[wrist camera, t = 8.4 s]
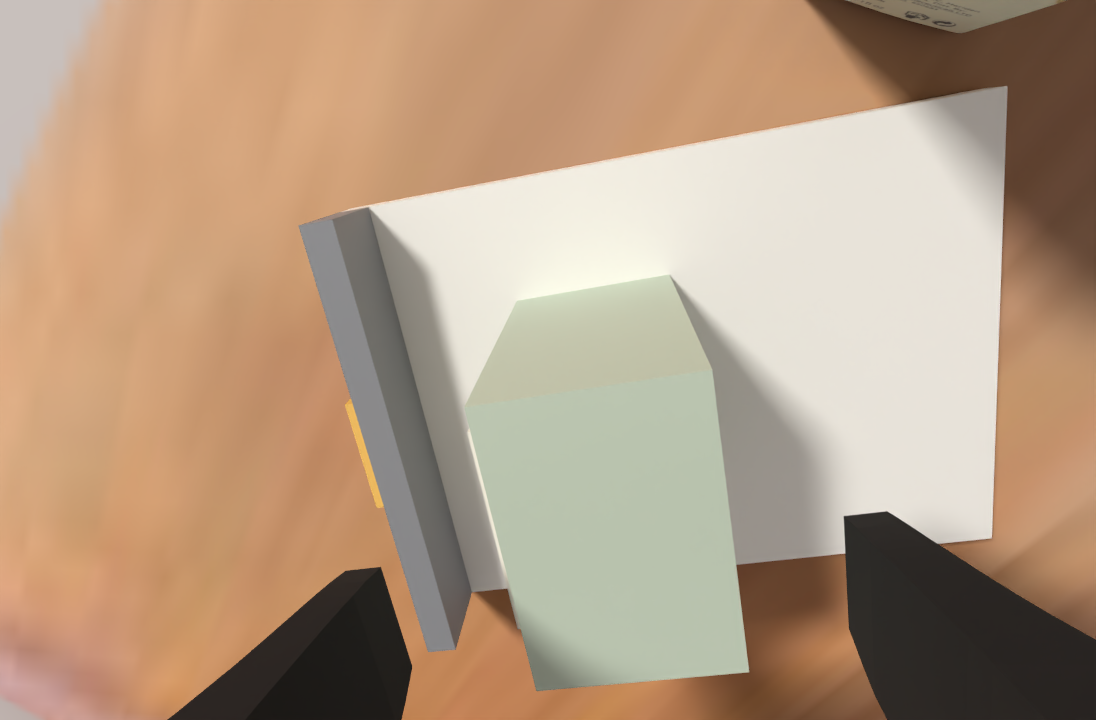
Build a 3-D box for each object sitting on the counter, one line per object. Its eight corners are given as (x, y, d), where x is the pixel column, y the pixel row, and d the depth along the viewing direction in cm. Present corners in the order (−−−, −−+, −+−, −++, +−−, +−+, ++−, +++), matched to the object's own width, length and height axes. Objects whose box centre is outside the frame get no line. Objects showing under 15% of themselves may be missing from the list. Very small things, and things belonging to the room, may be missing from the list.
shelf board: (983, 88, 16) (1080, 78, 12) (973, 518, 19) (1046, 595, 16) (339, 210, 18) (281, 228, 15) (442, 575, 22) (414, 653, 18)
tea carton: (669, 274, 17) (712, 369, 10) (697, 479, 19) (749, 672, 12) (500, 303, 17) (437, 411, 11) (544, 499, 19) (513, 692, 13)
